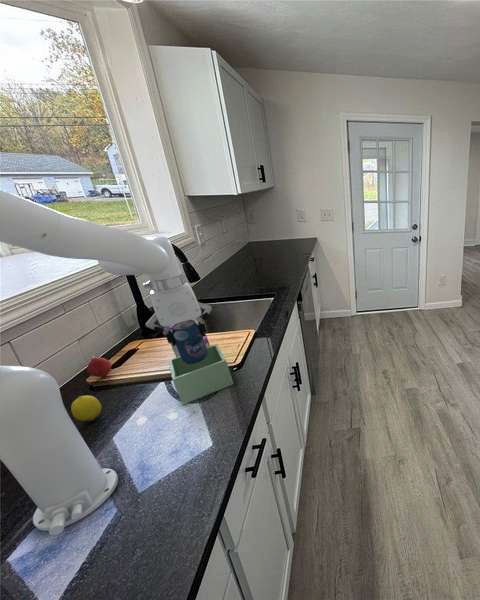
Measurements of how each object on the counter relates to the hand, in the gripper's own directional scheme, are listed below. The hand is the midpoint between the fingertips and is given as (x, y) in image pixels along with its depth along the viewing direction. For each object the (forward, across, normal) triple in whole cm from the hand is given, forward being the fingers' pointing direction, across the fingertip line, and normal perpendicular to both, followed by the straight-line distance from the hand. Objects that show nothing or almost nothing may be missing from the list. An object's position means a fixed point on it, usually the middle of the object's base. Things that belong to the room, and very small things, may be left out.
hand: (189, 338), depth 92 cm
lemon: (+16, -27, +4) cm, 32 cm away
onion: (+16, -26, +30) cm, 43 cm away
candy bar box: (+16, 0, +17) cm, 24 cm away
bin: (+16, 0, 0) cm, 16 cm away
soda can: (+7, 0, 0) cm, 7 cm away
